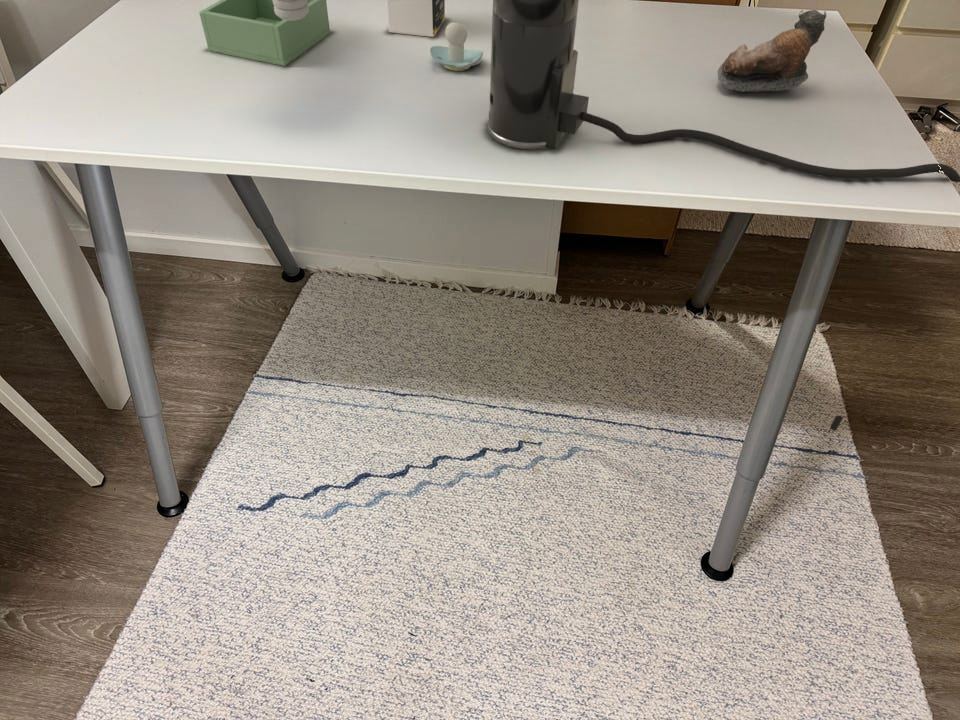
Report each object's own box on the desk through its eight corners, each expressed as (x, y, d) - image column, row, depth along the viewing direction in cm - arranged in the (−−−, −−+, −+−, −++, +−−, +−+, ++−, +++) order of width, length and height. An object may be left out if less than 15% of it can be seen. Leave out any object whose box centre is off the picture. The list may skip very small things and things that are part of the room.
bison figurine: (721, 100, 96) (743, 21, 89) (707, 76, 101) (726, 0, 94) (810, 100, 97) (838, 21, 89) (792, 76, 102) (817, 0, 94)
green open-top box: (330, 33, 109) (325, -5, 105) (284, 66, 101) (277, 27, 97) (258, 19, 112) (251, -18, 108) (208, 50, 104) (198, 11, 100)
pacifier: (437, 54, 105) (427, 70, 100) (437, 8, 100) (426, 23, 96) (487, 59, 104) (479, 76, 99) (489, 13, 99) (480, 29, 95)
